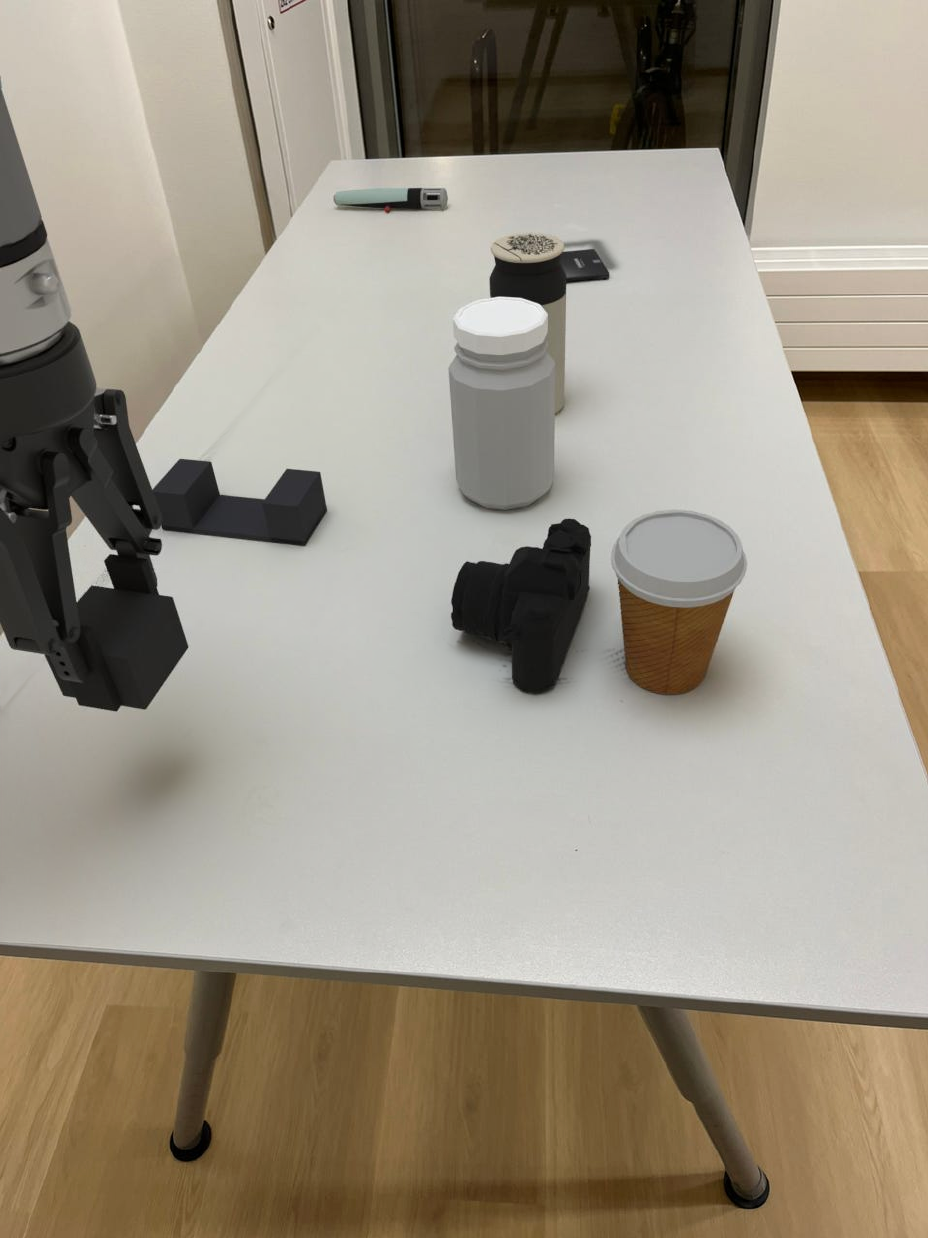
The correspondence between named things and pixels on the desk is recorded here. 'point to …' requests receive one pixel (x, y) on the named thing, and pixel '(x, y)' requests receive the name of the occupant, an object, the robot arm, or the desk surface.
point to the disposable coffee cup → (674, 595)
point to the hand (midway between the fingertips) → (127, 667)
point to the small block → (132, 640)
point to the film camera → (529, 602)
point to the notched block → (240, 505)
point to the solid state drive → (583, 265)
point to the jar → (502, 402)
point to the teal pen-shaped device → (393, 198)
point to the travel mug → (535, 287)
